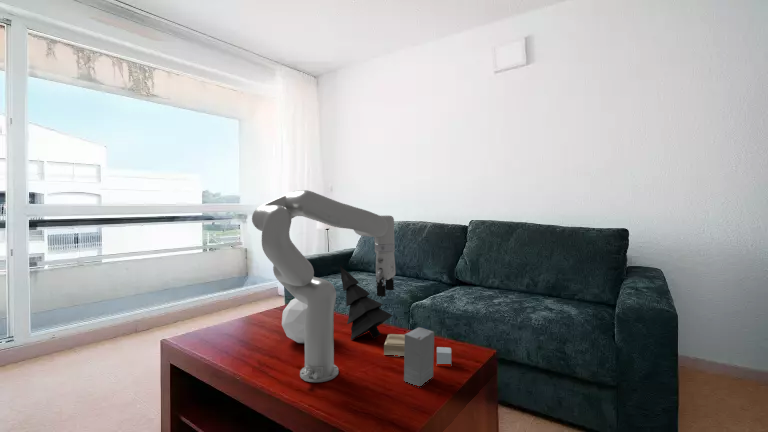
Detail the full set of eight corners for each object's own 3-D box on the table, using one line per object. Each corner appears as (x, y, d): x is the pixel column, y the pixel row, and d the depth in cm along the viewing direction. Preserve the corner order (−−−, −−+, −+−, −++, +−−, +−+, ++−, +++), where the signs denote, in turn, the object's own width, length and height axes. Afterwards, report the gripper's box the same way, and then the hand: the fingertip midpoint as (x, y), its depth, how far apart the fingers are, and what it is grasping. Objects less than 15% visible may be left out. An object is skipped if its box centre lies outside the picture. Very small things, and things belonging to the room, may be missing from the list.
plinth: (416, 357, 134) (416, 345, 134) (384, 355, 136) (384, 344, 135) (417, 345, 146) (417, 334, 146) (388, 343, 147) (388, 333, 147)
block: (451, 367, 125) (451, 353, 125) (436, 366, 126) (436, 352, 126) (450, 361, 130) (450, 347, 130) (436, 360, 131) (436, 346, 131)
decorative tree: (375, 338, 162) (340, 270, 173) (398, 324, 155) (360, 254, 166) (354, 349, 150) (318, 275, 161) (378, 334, 143) (339, 258, 154)
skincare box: (417, 373, 121) (417, 325, 121) (435, 379, 117) (435, 330, 116) (402, 382, 115) (402, 332, 114) (421, 389, 110) (421, 337, 110)
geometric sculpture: (294, 361, 147) (262, 323, 144) (317, 328, 165) (289, 295, 162) (325, 346, 138) (292, 306, 136) (346, 313, 156) (317, 278, 153)
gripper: (386, 251, 128) (387, 299, 129) (400, 245, 144) (401, 288, 145) (366, 251, 130) (368, 298, 131) (382, 245, 147) (383, 287, 147)
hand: (385, 293), depth 138 cm, fingers open, 9 cm apart
